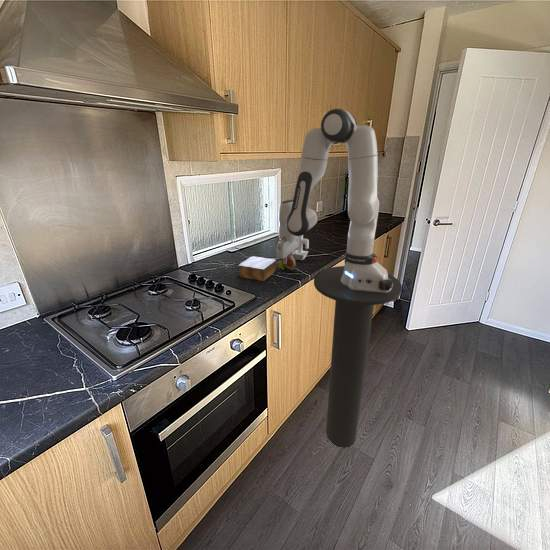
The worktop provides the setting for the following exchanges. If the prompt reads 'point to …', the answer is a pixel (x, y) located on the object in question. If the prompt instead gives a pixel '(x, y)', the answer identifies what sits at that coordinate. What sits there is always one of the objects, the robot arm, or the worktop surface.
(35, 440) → the worktop surface
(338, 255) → the worktop surface
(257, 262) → the wooden block
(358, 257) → the robot arm
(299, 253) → the figurine
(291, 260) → the bird rattle
